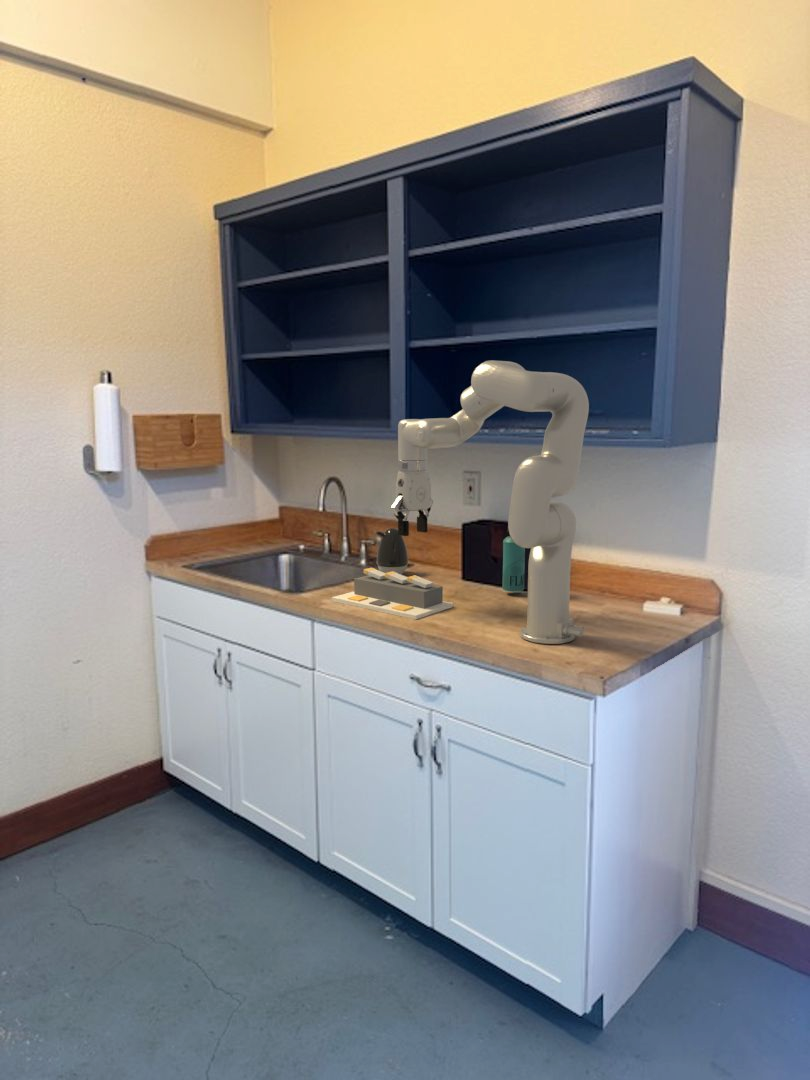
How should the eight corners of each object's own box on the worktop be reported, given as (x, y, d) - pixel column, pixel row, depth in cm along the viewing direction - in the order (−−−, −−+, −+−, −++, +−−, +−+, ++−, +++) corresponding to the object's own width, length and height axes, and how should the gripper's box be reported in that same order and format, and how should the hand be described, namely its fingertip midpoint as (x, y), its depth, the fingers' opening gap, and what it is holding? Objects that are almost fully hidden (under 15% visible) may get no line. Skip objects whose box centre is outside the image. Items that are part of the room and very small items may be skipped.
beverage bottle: (507, 597, 212) (508, 527, 209) (498, 592, 219) (499, 523, 215) (528, 596, 214) (530, 526, 211) (518, 590, 220) (520, 522, 217)
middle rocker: (409, 581, 207) (410, 578, 206) (401, 583, 204) (402, 580, 204) (392, 574, 210) (392, 571, 210) (384, 576, 208) (384, 573, 208)
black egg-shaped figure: (372, 572, 246) (371, 526, 243) (402, 570, 249) (402, 524, 246) (381, 579, 236) (380, 531, 234) (412, 576, 240) (412, 529, 237)
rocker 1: (387, 577, 212) (388, 574, 211) (379, 579, 209) (380, 576, 209) (371, 570, 215) (371, 567, 215) (363, 572, 213) (363, 569, 213)
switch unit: (453, 606, 203) (453, 586, 202) (415, 619, 191) (415, 598, 190) (370, 590, 222) (370, 571, 221) (331, 600, 210) (331, 581, 209)
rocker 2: (432, 586, 202) (433, 582, 201) (425, 588, 199) (425, 584, 199) (414, 578, 205) (415, 575, 205) (406, 580, 203) (407, 577, 203)
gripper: (402, 469, 189) (402, 539, 192) (444, 465, 203) (443, 530, 206) (379, 468, 194) (380, 536, 197) (422, 464, 207) (422, 528, 210)
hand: (412, 533), depth 201 cm, fingers open, 7 cm apart
